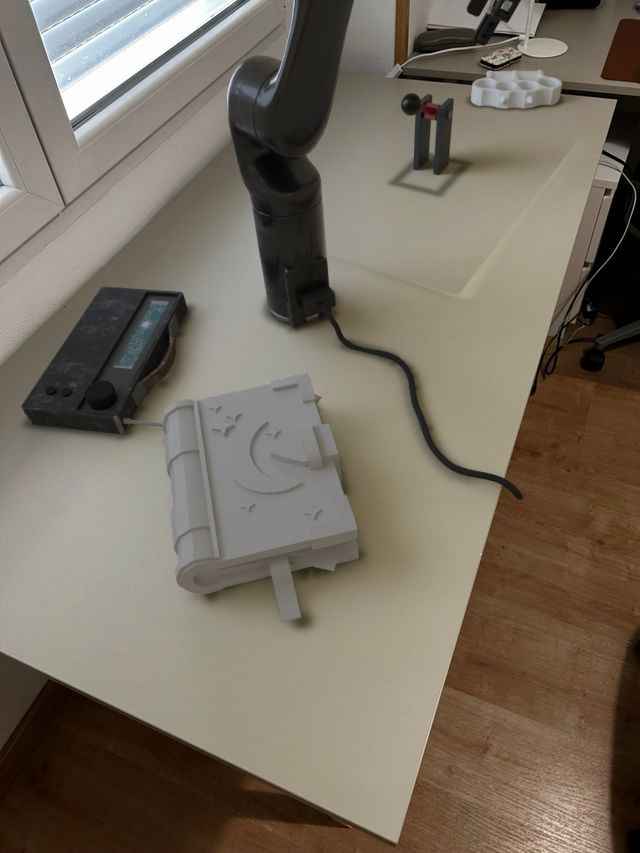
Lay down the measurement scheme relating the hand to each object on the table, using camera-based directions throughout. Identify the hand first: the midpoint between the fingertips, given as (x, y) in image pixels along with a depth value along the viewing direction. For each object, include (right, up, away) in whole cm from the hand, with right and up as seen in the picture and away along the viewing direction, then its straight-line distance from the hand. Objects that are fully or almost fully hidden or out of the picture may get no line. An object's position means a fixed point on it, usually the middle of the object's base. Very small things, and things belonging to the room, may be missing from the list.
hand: (474, 27), depth 94 cm
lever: (-6, -8, +12) cm, 15 cm away
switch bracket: (-2, -12, +24) cm, 27 cm away
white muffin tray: (+19, +11, +42) cm, 48 cm away
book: (-29, -68, -22) cm, 77 cm away
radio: (-48, -50, -4) cm, 69 cm away
